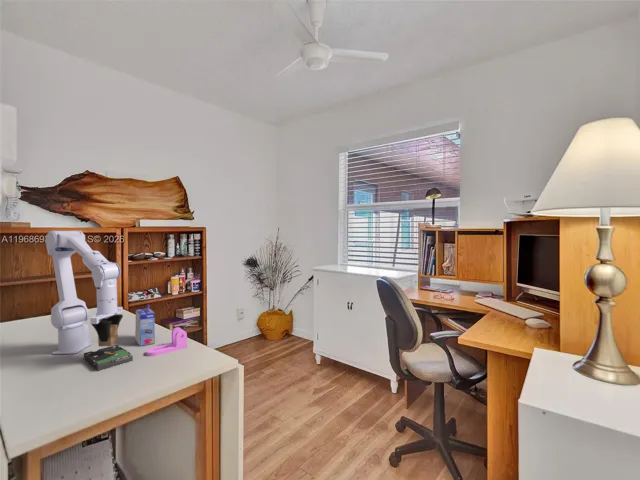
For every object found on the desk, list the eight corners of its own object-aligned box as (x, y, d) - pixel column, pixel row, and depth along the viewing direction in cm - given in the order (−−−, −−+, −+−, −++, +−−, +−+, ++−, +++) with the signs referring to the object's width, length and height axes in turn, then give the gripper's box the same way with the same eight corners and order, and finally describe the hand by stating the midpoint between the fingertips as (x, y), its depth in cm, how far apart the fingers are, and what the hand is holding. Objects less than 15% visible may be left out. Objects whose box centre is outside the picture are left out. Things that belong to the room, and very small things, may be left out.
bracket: (182, 344, 121) (181, 326, 121) (187, 348, 117) (186, 329, 117) (144, 353, 112) (144, 334, 112) (148, 357, 108) (148, 338, 108)
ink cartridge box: (156, 343, 122) (155, 306, 121) (139, 347, 118) (138, 308, 118) (150, 336, 129) (149, 302, 129) (135, 339, 126) (134, 304, 125)
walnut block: (105, 342, 108) (105, 324, 108) (117, 341, 108) (117, 324, 108) (98, 346, 104) (97, 328, 104) (111, 345, 104) (110, 328, 104)
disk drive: (83, 361, 107) (97, 372, 98) (82, 353, 107) (97, 364, 98) (117, 351, 115) (133, 361, 106) (117, 344, 115) (133, 353, 106)
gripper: (106, 304, 99) (107, 346, 99) (130, 294, 113) (131, 331, 114) (82, 304, 98) (84, 347, 99) (110, 294, 113) (111, 332, 113)
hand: (108, 338), depth 106 cm, fingers closed on walnut block, 4 cm apart
